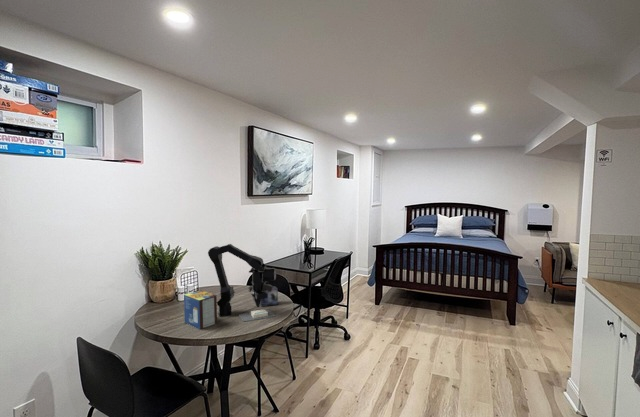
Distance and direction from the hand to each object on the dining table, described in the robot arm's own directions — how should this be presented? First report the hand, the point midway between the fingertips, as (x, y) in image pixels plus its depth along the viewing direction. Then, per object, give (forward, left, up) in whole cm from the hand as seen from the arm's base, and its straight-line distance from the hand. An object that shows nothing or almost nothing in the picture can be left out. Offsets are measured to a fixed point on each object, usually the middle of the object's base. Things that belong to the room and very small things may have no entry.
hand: (257, 306), depth 194 cm
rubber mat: (-1, -2, -4) cm, 5 cm away
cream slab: (0, 0, -3) cm, 3 cm away
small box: (+11, +14, -5) cm, 19 cm away
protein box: (-31, +1, -5) cm, 31 cm away
